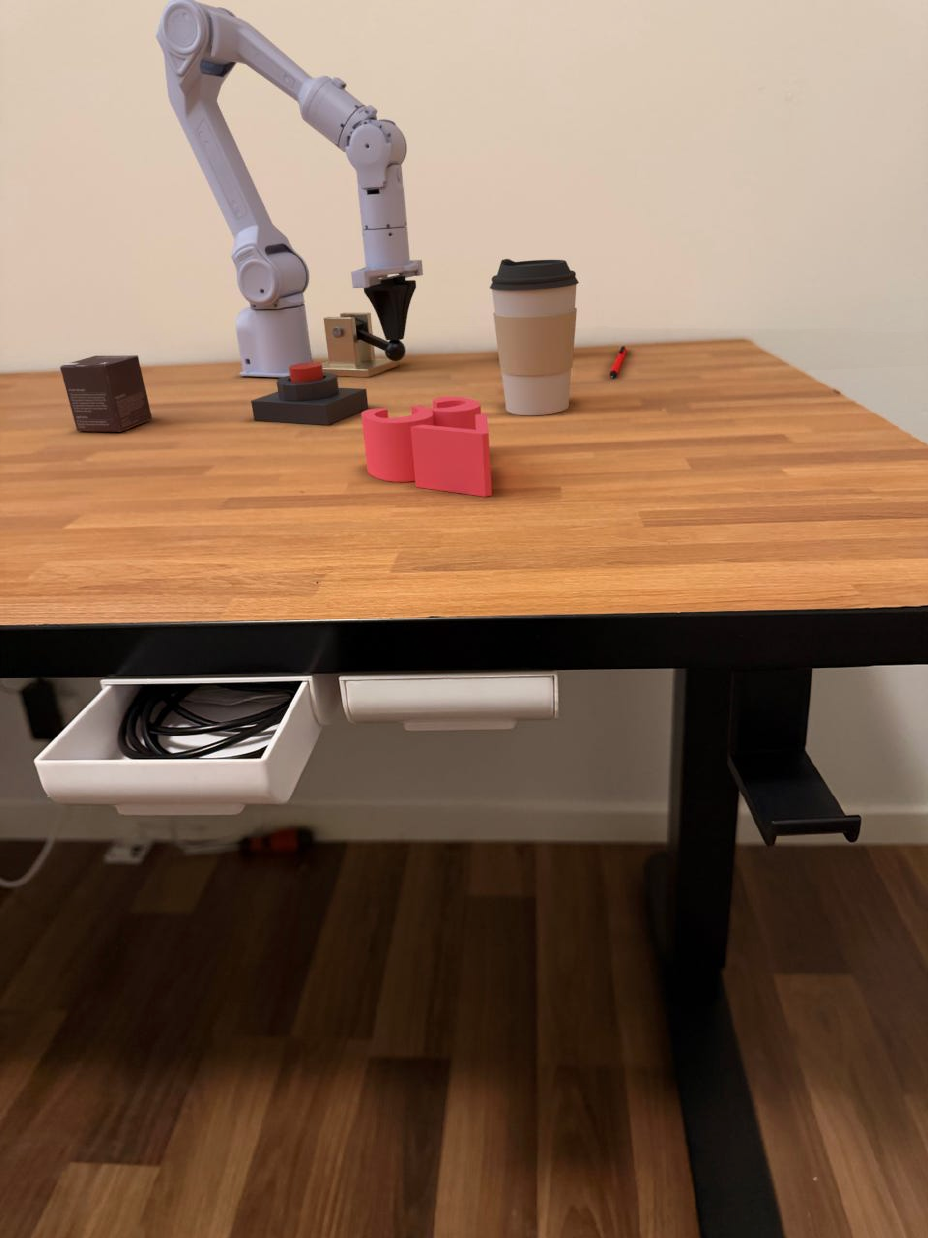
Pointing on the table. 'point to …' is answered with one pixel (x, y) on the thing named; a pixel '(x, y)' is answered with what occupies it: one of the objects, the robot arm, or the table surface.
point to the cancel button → (306, 372)
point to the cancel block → (310, 402)
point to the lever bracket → (351, 348)
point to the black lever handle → (381, 343)
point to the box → (106, 393)
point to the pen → (618, 362)
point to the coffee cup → (535, 333)
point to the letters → (431, 446)
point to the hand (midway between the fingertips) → (394, 339)
